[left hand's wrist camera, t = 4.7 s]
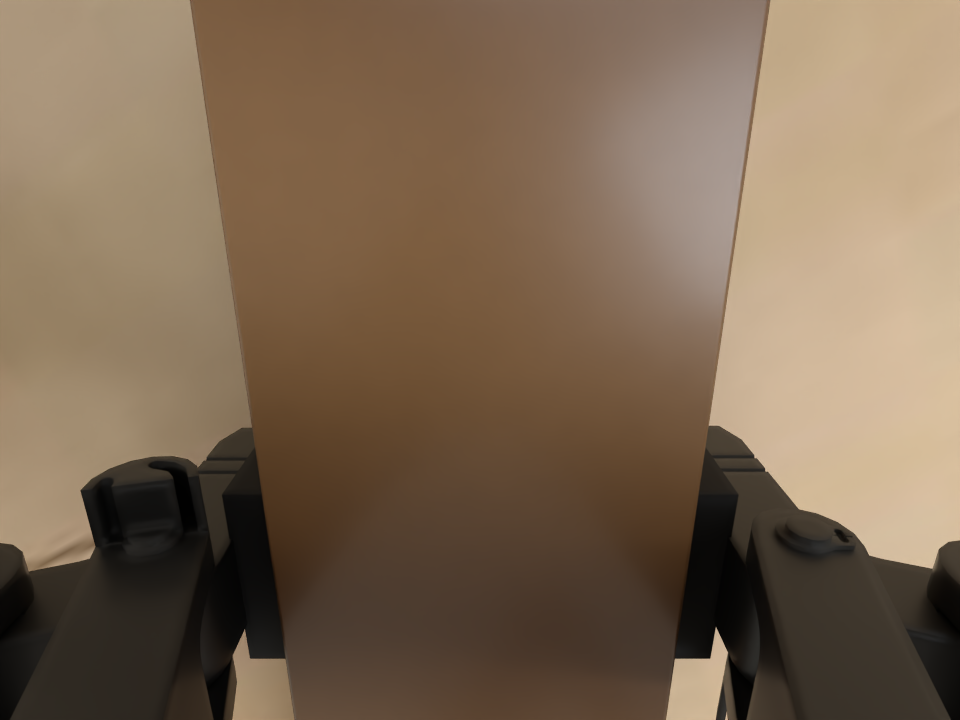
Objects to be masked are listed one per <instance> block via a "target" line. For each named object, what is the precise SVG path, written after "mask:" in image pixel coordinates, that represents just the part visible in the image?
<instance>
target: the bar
mask: <svg viewBox="0 0 960 720" xmlns="http://www.w3.org/2000/svg"><path fill="white" fill-rule="evenodd" d="M190 3H191V10H192V17H193V24H194V31H195V38H196V45H197V51H198V58H199V65H200V72H201V79H202V86H203V93H204V100H205V106H206V113H207V120H208V127H209V134H210V141H211V148H212V155H213V161H214V168H215V175H216V182H217V189H218V196H219V203H220V210H221V216H222V223H223V230H224V237H225V244H226V251H227V258H228V265H229V272H230V278H231V285H232V292H233V299H234V306H235V313H236V320H237V327H238V333H239V340H240V347H241V354H242V361H243V368H244V375H245V382H246V388H247V395H248V402H249V409H250V416H251V423H252V430H253V437H254V443H255V450H256V457H257V464H258V471H259V478H260V485H261V492H262V499H263V505H264V512H265V519H266V526H267V533H268V540H269V547H270V554H271V560H272V567H273V574H274V581H275V588H276V595H277V602H278V609H279V615H280V622H281V629H282V636H283V643H284V650H285V657H286V664H287V670H288V677H289V684H290V691H291V698H292V705H293V712H294V719H295V720H666V715H667V708H668V701H669V694H670V688H671V681H672V674H673V667H674V660H675V653H676V646H677V639H678V632H679V626H680V619H681V612H682V605H683V598H684V591H685V584H686V577H687V570H688V564H689V557H690V550H691V543H692V536H693V529H694V522H695V515H696V508H697V502H698V495H699V488H700V481H701V474H702V467H703V460H704V453H705V447H706V440H707V433H708V426H709V419H710V412H711V405H712V398H713V391H714V385H715V378H716V371H717V364H718V357H719V350H720V343H721V336H722V329H723V323H724V316H725V309H726V302H727V295H728V288H729V281H730V274H731V267H732V261H733V254H734V247H735V240H736V233H737V226H738V219H739V212H740V205H741V199H742V192H743V185H744V178H745V171H746V164H747V157H748V150H749V143H750V137H751V130H752V123H753V116H754V109H755V102H756V95H757V88H758V81H759V75H760V68H761V61H762V54H763V47H764V40H765V33H766V26H767V19H768V13H769V6H770V0H190Z"/></svg>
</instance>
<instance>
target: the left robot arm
mask: <svg viewBox="0 0 960 720" xmlns="http://www.w3.org/2000/svg"><path fill="white" fill-rule="evenodd" d="M81 494H82V498H83V501H84V505H85V509H86V512H87V516H88V520H89V524H90V527H91V531H92V535H93V539H94V542H95V546H96V547H95V550H94V552H93V554H92V556H91V558H90V559H88V560H84V561H80V562H75V563H70V564H65V565H60V566H55V567H50V568H45V569H40V570H35V571H30V572H29V571H28V568H27V565H26V561H25V558H24V555H23V552H22V551H21V550H19V549H18V548H17V547H15V546H14V545H11V544H3V543H0V720H232V717H233V709H234V701H235V693H236V685H237V679H236V672H235V666H234V661H233V653H234V651H235V649H236V647H237V645H238V643H239V640H240V638H241V636H242V634H243V632H244V630H245V631H246V637H247V643H248V649H249V654H250V659H286V657H285V650H284V643H283V636H282V629H281V622H280V615H279V609H278V602H277V595H276V588H275V581H274V574H273V567H272V560H271V554H270V547H269V540H268V533H267V526H266V519H265V512H264V505H263V499H262V492H261V485H260V478H259V471H258V464H257V457H256V450H255V443H254V437H253V430H252V428H241V429H239V430H238V431H236V432H235V433H233V434H231V435H230V436H228V437H226V438H225V439H223V440H221V441H220V442H219V443H218V444H217V445H216V447H215V448H214V449H213V450H212V451H211V453H210V454H209V455H208V456H207V460H206V461H203V462H202V464H201V465H200V466H199V467H198V468H197V466H196V465H195V464H193V463H192V462H191V461H189V460H188V459H183V458H178V457H174V456H165V457H149V458H144V459H139V460H134V461H130V462H127V463H124V464H122V465H119V466H116V467H113V468H110V469H108V470H107V471H105V472H103V473H101V474H100V475H98V476H96V477H94V478H93V479H91V480H90V481H89V482H88V483H87V484H86V485H85V486H84V488H83V489H82V490H81ZM715 628H717V630H718V632H719V634H720V636H721V638H722V640H723V643H724V645H725V647H726V649H727V651H728V655H727V661H726V666H725V671H724V677H723V682H722V687H721V693H720V698H719V703H718V709H717V716H716V720H725V717H726V712H727V716H728V720H960V541H952V542H948V543H947V544H945V545H944V546H943V547H941V548H940V549H939V551H938V554H937V557H936V560H935V563H934V566H933V569H930V568H925V567H920V566H915V565H910V564H905V563H900V562H894V561H889V560H884V559H880V558H876V557H872V556H869V554H868V552H867V550H866V548H865V546H864V545H863V544H862V543H861V541H860V540H859V539H858V538H857V537H856V535H855V534H854V533H853V532H851V531H850V530H848V529H847V528H845V527H844V526H842V525H841V524H839V523H838V522H836V521H833V520H831V519H829V518H826V517H824V516H822V515H819V514H816V513H812V512H808V511H803V510H799V509H798V508H797V507H796V505H795V504H794V503H793V502H792V501H791V499H790V498H789V497H788V496H787V494H786V493H785V492H784V491H783V490H782V488H781V487H780V486H779V485H778V484H777V482H776V481H775V480H774V479H773V477H772V476H771V475H770V474H769V473H768V472H765V468H764V467H763V465H762V464H761V463H760V462H759V460H758V459H757V458H754V454H753V453H752V452H751V451H750V450H749V448H748V447H747V446H746V445H745V443H744V442H743V441H742V440H741V439H740V438H738V437H736V436H735V435H733V434H731V433H730V432H728V431H726V430H725V429H723V428H721V427H720V426H708V433H707V440H706V447H705V453H704V460H703V467H702V474H701V481H700V488H699V495H698V502H697V508H696V515H695V522H694V529H693V536H692V543H691V550H690V557H689V564H688V570H687V577H686V584H685V591H684V598H683V605H682V612H681V619H680V626H679V632H678V639H677V646H676V653H675V659H710V657H711V651H712V645H713V640H714V634H715Z"/></svg>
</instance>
